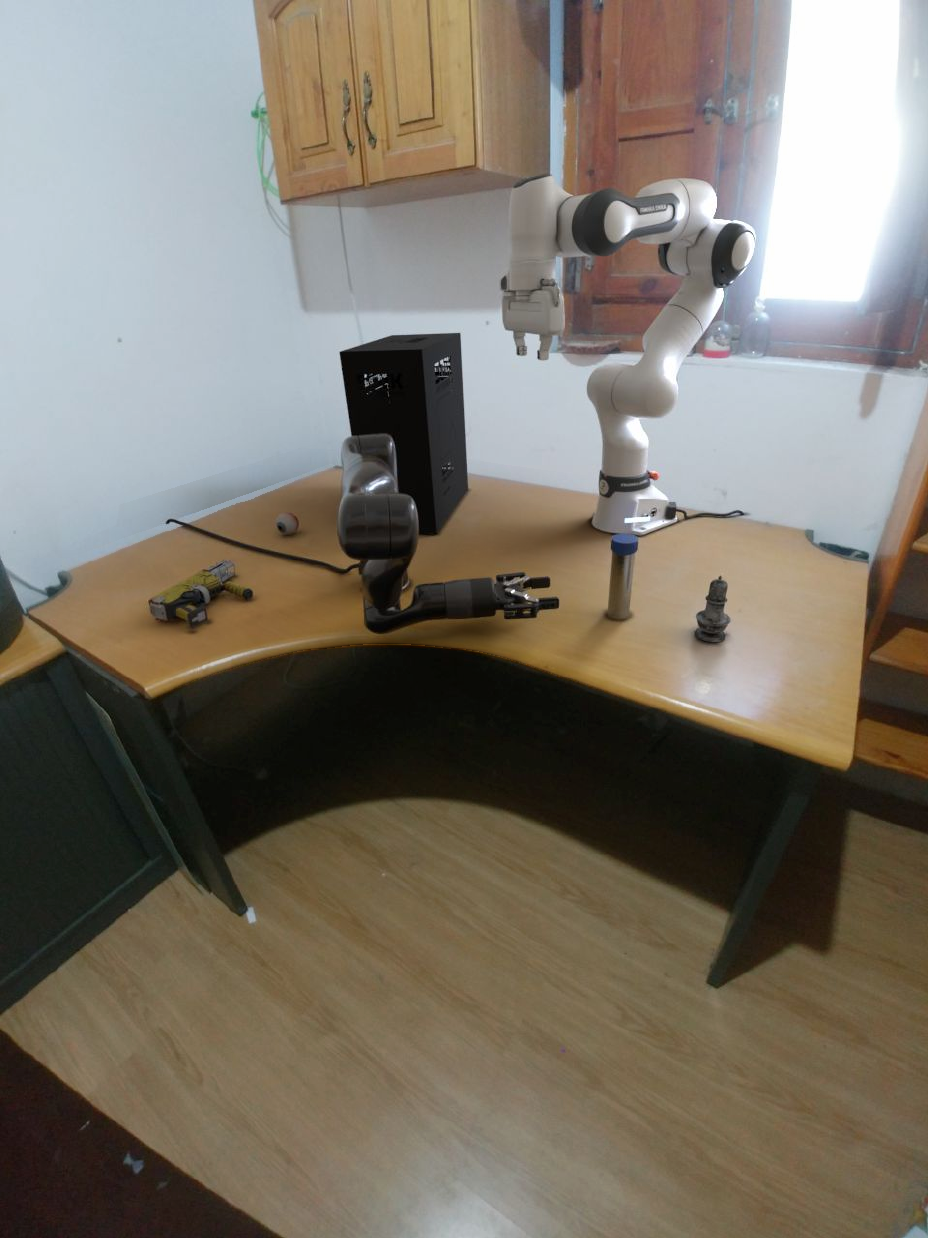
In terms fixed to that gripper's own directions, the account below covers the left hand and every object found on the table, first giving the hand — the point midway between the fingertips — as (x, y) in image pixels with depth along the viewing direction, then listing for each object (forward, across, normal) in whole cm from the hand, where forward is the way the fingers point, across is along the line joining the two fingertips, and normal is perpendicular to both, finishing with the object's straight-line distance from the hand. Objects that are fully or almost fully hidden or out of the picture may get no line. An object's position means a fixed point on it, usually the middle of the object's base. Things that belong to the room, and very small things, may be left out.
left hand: (554, 591), depth 114 cm
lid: (+13, +1, -9) cm, 16 cm away
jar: (+13, +1, +7) cm, 15 cm away
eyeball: (-62, +58, +6) cm, 85 cm away
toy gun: (-71, +20, +6) cm, 74 cm away
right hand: (+1, +31, -38) cm, 48 cm away
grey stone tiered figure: (+27, -9, +7) cm, 29 cm away
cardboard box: (-25, +70, +7) cm, 75 cm away
